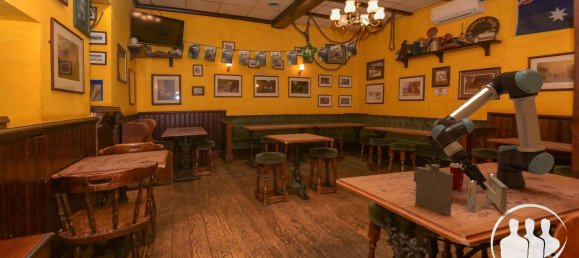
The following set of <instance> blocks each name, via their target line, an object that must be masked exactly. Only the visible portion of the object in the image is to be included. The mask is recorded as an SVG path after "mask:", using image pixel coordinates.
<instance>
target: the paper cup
mask: <svg viewBox="0 0 579 258" xmlns="http://www.w3.org/2000/svg"><path fill="white" fill-rule="evenodd" d="M459 167H460V165H459V164H458V163H456V164H455V163H454V162H450V164H449V173H452V174H453V184H452V191H457V192H458V191H459V192H461V191H463V185H464V179H465V174H464V173H463V172H462V171H461V170H460V169H459Z"/></svg>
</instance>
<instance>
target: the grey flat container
mask: <svg viewBox="0 0 579 258" xmlns="http://www.w3.org/2000/svg"><path fill="white" fill-rule="evenodd" d="M425 168H429V169H431V165H430V164H428V163H427V164H425ZM416 178H417V168H416V169H414V170H413V182H415V181H416Z"/></svg>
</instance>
